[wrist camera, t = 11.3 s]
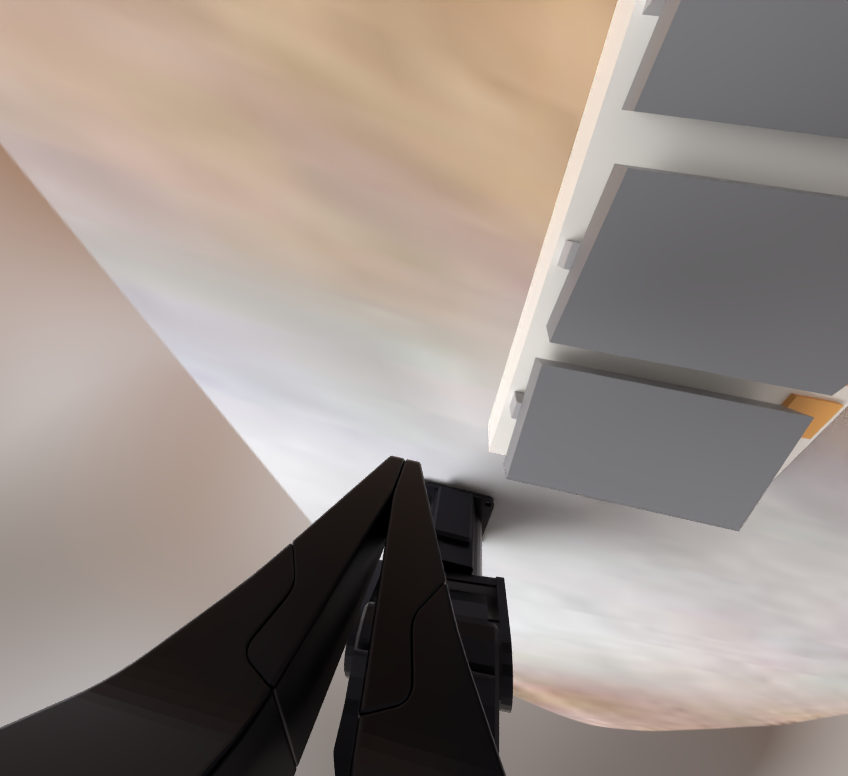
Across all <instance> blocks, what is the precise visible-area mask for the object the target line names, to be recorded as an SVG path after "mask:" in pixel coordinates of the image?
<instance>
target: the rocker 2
mask: <svg viewBox="0 0 848 776" xmlns="http://www.w3.org/2000/svg"><path fill="white" fill-rule="evenodd" d="M546 328H547V333H548V337H549V342H551V343H556V344H562V345H567V346H572V347H577V348H583V349H588V350H593V351H598V352H604V353H609V354H614V355H619V356H625V357H630V358H635V359H640V360H646V361H651V362H656V363H661V364H667V365H672V366H677V367H683V368H688V369H693V370H698V371H704V372H709V373H714V374H719V375H725V376H730V377H735V378H740V379H746V380H751V381H756V382H761V383H767V384H772V385H777V386H782V387H788V388H793V389H798V390H803V391H809V392H814V393H819V394H825V395H830V396H832V395H834V394H835V393H837V392H838V391H839V390H841V389H842V388H844V387H845V386H846V385H848V197H847V196H840V195H833V194H826V193H819V192H812V191H805V190H798V189H791V188H784V187H777V186H770V185H763V184H756V183H749V182H742V181H735V180H727V179H720V178H713V177H706V176H699V175H692V174H685V173H678V172H671V171H664V170H657V169H650V168H643V167H636V166H629V165H622V164H614V166H613V168H612V171H611V173H610V176H609V178H608V180H607V183H606V185H605V187H604V190H603V192H602V195H601V197H600V199H599V202H598V204H597V206H596V209H595V211H594V213H593V216H592V218H591V221H590V223H589V225H588V228H587V230H586V232H585V235H584V237H583V240H582V242H581V244H580V247H579V249H578V251H577V254H576V256H575V259H574V261H573V263H572V266H571V268H570V270H569V273H568V275H567V277H566V280H565V282H564V285H563V287H562V289H561V292H560V294H559V296H558V299H557V301H556V304H555V306H554V308H553V311H552V313H551V315H550V318H549V320H548V322H547V325H546Z"/></svg>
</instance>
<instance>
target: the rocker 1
mask: <svg viewBox="0 0 848 776" xmlns="http://www.w3.org/2000/svg"><path fill="white" fill-rule="evenodd" d="M621 110H627V111H635V112H643V113H650V114H658V115H666V116H674V117H681V118H689V119H697V120H705V121H712V122H720V123H728V124H736V125H743V126H751V127H759V128H767V129H774V130H782V131H790V132H798V133H805V134H813V135H821V136H828V137H836V138H844V139H848V0H666V1H665V4H664V6H663V8H662V11H661V13H660V16H659V18H658V21H657V23H656V26H655V28H654V31H653V33H652V36H651V38H650V40H649V43H648V45H647V48H646V50H645V53H644V55H643V58H642V60H641V63H640V65H639V68H638V70H637V72H636V75H635V77H634V80H633V82H632V85H631V87H630V90H629V92H628V95H627V97H626V100H625V102H624V104H623V107H622V109H621Z"/></svg>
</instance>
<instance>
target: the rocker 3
mask: <svg viewBox="0 0 848 776" xmlns="http://www.w3.org/2000/svg"><path fill="white" fill-rule="evenodd" d="M813 419H814V417H812V416H809V415H806V414H804V413H801V412H798V411H796V410H793V409H790V408H788V407H785V406H782V405H779V404H773V403H768V402H763V401H758V400H753V399H748V398H743V397H737V396H732V395H727V394H722V393H717V392H712V391H707V390H702V389H696V388H691V387H686V386H681V385H676V384H671V383H666V382H660V381H655V380H650V379H645V378H640V377H635V376H630V375H624V374H619V373H614V372H609V371H604V370H599V369H594V368H588V367H583V366H578V365H573V364H568V363H563V362H558V361H552V360H547V359H542V358H537V357H535V360H534V364H533V367H532V370H531V374H530V377H529V380H528V384H527V387H526V390H525V394H524V397H523V400H522V404H521V407H520V410H519V414H518V417H517V420H516V424H515V427H514V430H513V434H512V437H511V440H510V443H509V447H508V450H507V453H506V457H505V460H504V468H505V473H506V478H507V479H511V480H515V481H519V482H524V483H528V484H533V485H537V486H541V487H546V488H550V489H555V490H559V491H563V492H568V493H572V494H577V495H581V496H585V497H590V498H594V499H599V500H603V501H607V502H612V503H616V504H621V505H625V506H630V507H634V508H638V509H643V510H647V511H652V512H656V513H660V514H665V515H669V516H674V517H678V518H682V519H687V520H691V521H696V522H700V523H704V524H709V525H713V526H718V527H722V528H726V529H731V530H735V531H739V530H740V529H741V527H742V526H743V524H744V523H745V521H746V520H747V518H748V517H749V515H750V514H751V512H752V511H753V509H754V507H755V506H756V504H757V503H758V501H759V500H760V498H761V497H762V495H763V494H764V492H765V491H766V489H767V488H768V486H769V485H770V483H771V482H772V480H773V479H774V477H775V476H776V474H777V473H778V471H779V470H780V468H781V467H782V465H783V464H784V462H785V461H786V459H787V458H788V456H789V455H790V453H791V452H792V450H793V449H794V447H795V446H796V444H797V443H798V441H799V440H800V438H801V437H802V435H803V434H804V432H805V431H806V429H807V428H808V426H809V425H810V423H811V422H812V420H813Z"/></svg>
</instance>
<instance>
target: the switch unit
mask: <svg viewBox="0 0 848 776" xmlns="http://www.w3.org/2000/svg"><path fill="white" fill-rule="evenodd" d="M665 1H666V0H618V1H617V5H616V8H615V11H614V14H613V18H612V21H611V24H610V27H609V31H608V34H607V37H606V40H605V44H604V47H603V50H602V54H601V57H600V60H599V63H598V67H597V70H596V73H595V76H594V80H593V83H592V86H591V89H590V93H589V96H588V99H587V103H586V106H585V109H584V112H583V116H582V119H581V122H580V125H579V129H578V132H577V135H576V138H575V142H574V145H573V148H572V152H571V155H570V158H569V161H568V165H567V168H566V171H565V174H564V178H563V181H562V184H561V187H560V191H559V194H558V197H557V200H556V204H555V207H554V210H553V214H552V217H551V220H550V223H549V227H548V230H547V233H546V236H545V240H544V243H543V246H542V249H541V253H540V256H539V259H538V263H537V266H536V269H535V272H534V276H533V279H532V282H531V285H530V289H529V292H528V295H527V298H526V302H525V305H524V308H523V312H522V315H521V318H520V321H519V325H518V328H517V331H516V334H515V338H514V341H513V344H512V347H511V351H510V354H509V357H508V360H507V364H506V367H505V370H504V374H503V377H502V380H501V383H500V387H499V390H498V393H497V396H496V400H495V403H494V406H493V409H492V413H491V416H490V419H489V423H488V438H489V452H493V453H497V454H502V455H506V453H507V450H508V447H509V443H510V440H511V437H512V434H513V430H514V427H515V424H516V420H517V417H518V414H519V410H520V407H521V404H522V400H523V397H524V394H525V390H526V387H527V384H528V380H529V377H530V374H531V370H532V367H533V364H534V360H535V357H537V358H542V359H547V360H552V361H558V362H563V363H568V364H573V365H578V366H583V367H588V368H594V369H599V370H604V371H609V372H614V373H619V374H624V375H630V376H635V377H640V378H645V379H650V380H655V381H660V382H666V383H671V384H676V385H681V386H686V387H691V388H696V389H702V390H707V391H712V392H717V393H722V394H727V395H732V396H737V397H743V398H748V399H753V400H758V401H763V402H768V403H773V404H779V405H782V406H785V407H788V408H790V409H793V410H796V411H798V412H801V413H804V414H806V415H809V416H812V417H814V419H813V420H812V422H811V423H810V425H809V426H808V428H807V429H806V431H805V432H804V434H803V435H802V437H801V438H800V440H799V441H798V443H797V444H796V446H795V447H794V449H793V450H792V452H791V453H790V455H789V456H788V458H787V459H786V461H785V462H784V464H783V465H782V467H781V468H780V470H779V471H778V473H777V474H776V476H777V475H778V474H779V473H780V472H781V471H782V470H783V469H784V468H785V467H786V466H787V465H788V464H789V463H790V462H791V461H792V460H793V459H794V458H795V457H796V456H797V455H798V454H799V453H800V452H801V451H803V450H804V449H805V448H806V447H807V446H808V445H809V444H810V443H811V442H812V441H813V440H814V439H815V438H816V437H817V436H818V435H819V434H820V433H821V432H822V431H823V430H824V429H825V428H826V427H827V426H828V425H829V424H830V423H831V422H832V421H833V420H834V419H835V418H836V417H837V416H838V415H839V414H840V413H841V412H842V411H843V410H844V409H845V408H846V407H847V406H848V385H846V386H845V387H844V388H842V389H841V390H839V391H838V392H837V393H835V394H834V395H832V396H830V395H825V394H819V393H814V392H809V391H803V390H798V389H793V388H788V387H782V386H777V385H772V384H767V383H761V382H756V381H751V380H746V379H740V378H735V377H730V376H725V375H719V374H714V373H709V372H704V371H698V370H693V369H688V368H683V367H677V366H672V365H667V364H661V363H656V362H651V361H646V360H640V359H635V358H630V357H625V356H619V355H614V354H609V353H604V352H598V351H593V350H588V349H583V348H577V347H572V346H567V345H562V344H556V343H551V342H549V337H548V333H547V328H546V325H547V322H548V320H549V318H550V315H551V313H552V311H553V308H554V306H555V304H556V301H557V299H558V296H559V294H560V292H561V289H562V287H563V285H564V282H565V280H566V277H567V275H568V273H569V270H570V268H571V266H572V263H573V261H574V259H575V256H576V254H577V251H578V249H579V247H580V244H581V242H582V240H583V237H584V235H585V232H586V230H587V228H588V225H589V223H590V221H591V218H592V216H593V213H594V211H595V209H596V206H597V204H598V202H599V199H600V197H601V195H602V192H603V190H604V187H605V185H606V183H607V180H608V178H609V176H610V173H611V171H612V168H613V166H614V164H622V165H629V166H636V167H643V168H650V169H657V170H664V171H671V172H678V173H685V174H692V175H699V176H706V177H713V178H720V179H727V180H735V181H742V182H749V183H756V184H763V185H770V186H777V187H784V188H791V189H798V190H805V191H812V192H819V193H826V194H833V195H840V196H847V197H848V139H844V138H836V137H828V136H821V135H813V134H805V133H798V132H790V131H782V130H774V129H767V128H759V127H751V126H743V125H736V124H728V123H720V122H712V121H705V120H697V119H689V118H681V117H674V116H666V115H658V114H650V113H643V112H635V111H627V110H621V109H622V107H623V104H624V102H625V100H626V97H627V95H628V92H629V90H630V87H631V85H632V82H633V80H634V77H635V75H636V72H637V70H638V68H639V65H640V63H641V60H642V58H643V55H644V53H645V50H646V48H647V45H648V43H649V40H650V38H651V36H652V33H653V31H654V28H655V26H656V23H657V21H658V18H659V16H660V13H661V11H662V8H663V6H664V4H665ZM776 476H775V477H776ZM775 477H774V478H775Z"/></svg>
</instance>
